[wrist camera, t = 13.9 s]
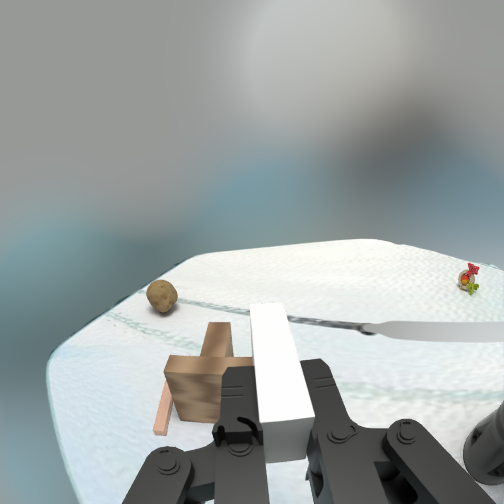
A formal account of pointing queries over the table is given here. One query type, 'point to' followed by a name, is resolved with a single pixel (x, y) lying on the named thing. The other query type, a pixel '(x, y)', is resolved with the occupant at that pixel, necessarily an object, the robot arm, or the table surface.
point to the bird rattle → (465, 278)
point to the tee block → (203, 375)
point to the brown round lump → (161, 295)
